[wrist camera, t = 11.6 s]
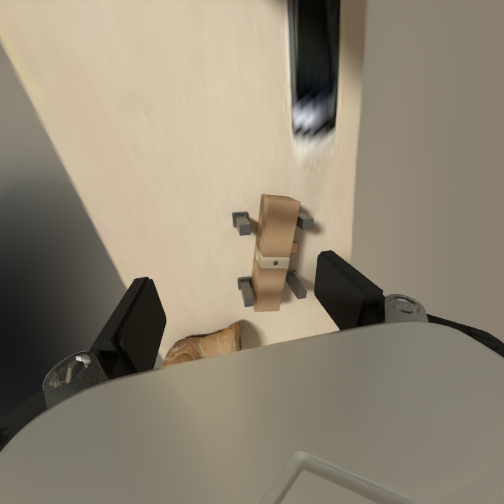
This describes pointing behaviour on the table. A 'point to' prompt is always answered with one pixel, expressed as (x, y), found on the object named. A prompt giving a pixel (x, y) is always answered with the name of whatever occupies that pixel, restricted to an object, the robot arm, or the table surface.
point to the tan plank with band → (273, 250)
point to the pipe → (205, 346)
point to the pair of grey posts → (290, 279)
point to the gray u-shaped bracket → (245, 229)
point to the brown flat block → (294, 247)
